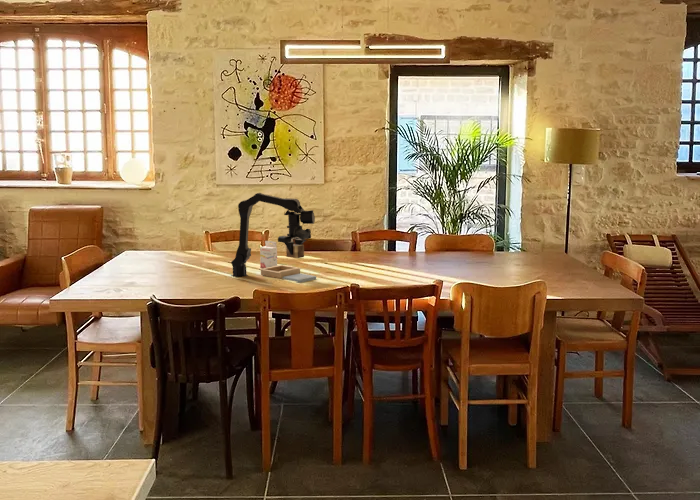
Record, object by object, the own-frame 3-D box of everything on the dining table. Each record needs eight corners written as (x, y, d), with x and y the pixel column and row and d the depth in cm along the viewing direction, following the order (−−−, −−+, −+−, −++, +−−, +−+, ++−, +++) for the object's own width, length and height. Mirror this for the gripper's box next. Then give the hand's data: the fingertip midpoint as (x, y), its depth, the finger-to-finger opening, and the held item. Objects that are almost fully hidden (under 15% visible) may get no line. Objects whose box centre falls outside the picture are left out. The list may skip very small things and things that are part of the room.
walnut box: (297, 258, 377) (297, 246, 377) (286, 256, 383) (286, 244, 382) (304, 256, 381) (303, 245, 380) (292, 255, 386) (292, 243, 385)
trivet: (299, 282, 373) (299, 279, 372) (282, 279, 380) (282, 276, 380) (316, 279, 381) (316, 276, 381) (299, 276, 389) (299, 273, 389)
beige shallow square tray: (279, 279, 380) (278, 272, 380) (259, 275, 390) (259, 268, 390) (301, 274, 393) (301, 267, 392) (282, 271, 402) (281, 264, 402)
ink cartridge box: (259, 268, 412) (259, 241, 410) (265, 266, 416) (265, 240, 414) (272, 269, 407) (271, 242, 405) (277, 268, 412) (277, 241, 409)
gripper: (292, 226, 367) (293, 258, 369) (318, 222, 381) (319, 253, 383) (276, 225, 374) (277, 256, 377) (302, 221, 388) (303, 251, 391)
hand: (295, 254), depth 382 cm, fingers closed on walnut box, 4 cm apart
